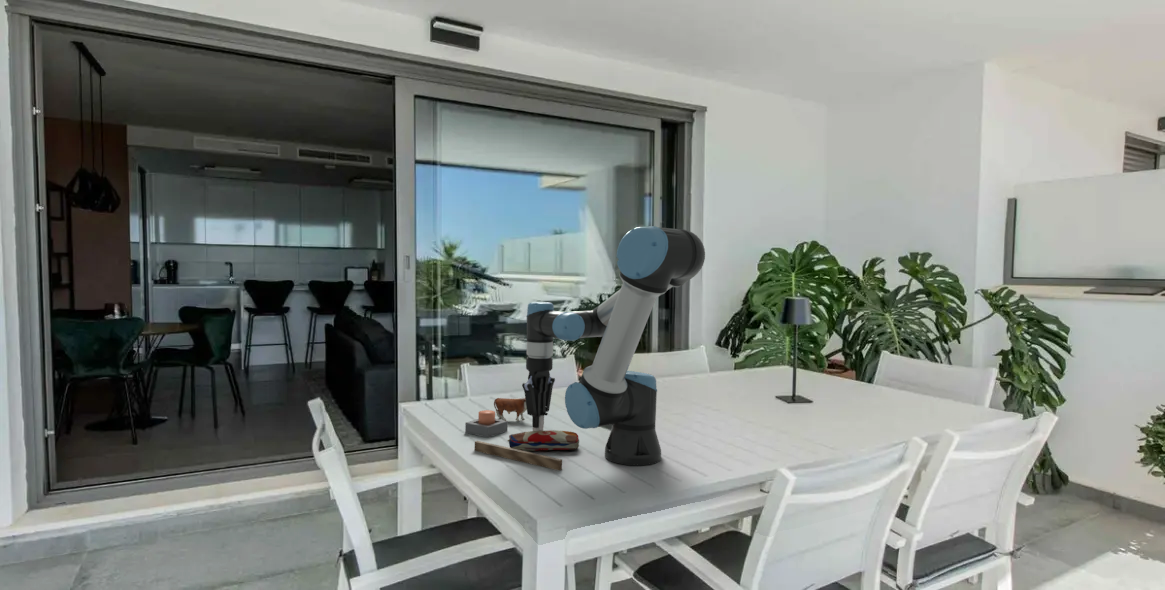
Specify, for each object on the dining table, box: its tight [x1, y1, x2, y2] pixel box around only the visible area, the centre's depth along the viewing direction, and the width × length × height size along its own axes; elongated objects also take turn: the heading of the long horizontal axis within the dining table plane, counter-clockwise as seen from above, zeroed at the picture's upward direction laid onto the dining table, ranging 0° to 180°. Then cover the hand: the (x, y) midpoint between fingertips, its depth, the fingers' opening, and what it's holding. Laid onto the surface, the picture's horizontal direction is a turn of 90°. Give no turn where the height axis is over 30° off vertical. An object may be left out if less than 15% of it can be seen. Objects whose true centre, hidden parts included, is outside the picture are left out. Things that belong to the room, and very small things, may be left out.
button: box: [477, 409, 496, 425], centre depth 188 cm, size 5×5×4 cm
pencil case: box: [507, 429, 580, 452], centre depth 172 cm, size 11×20×5 cm, turn 82°
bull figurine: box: [493, 396, 527, 422], centre depth 203 cm, size 4×13×8 cm, turn 81°
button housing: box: [464, 418, 509, 438], centre depth 188 cm, size 9×9×3 cm
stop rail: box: [474, 440, 563, 471], centre depth 162 cm, size 28×1×2 cm, turn 58°
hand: (537, 437), depth 177 cm, fingers closed
